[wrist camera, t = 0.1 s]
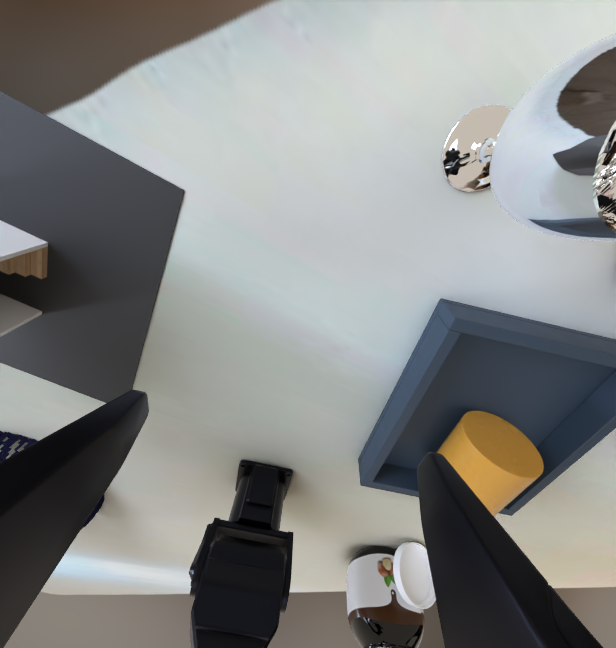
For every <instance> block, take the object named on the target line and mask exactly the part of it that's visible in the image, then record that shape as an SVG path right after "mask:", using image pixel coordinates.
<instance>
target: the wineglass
mask: <svg viewBox="0 0 616 648" xmlns="http://www.w3.org/2000/svg"><path fill="white" fill-rule="evenodd" d="M441 165H442V171H443V174H444V176H445V178H446V180H447V181H448V182H449V184H450V185H451V186H453V187H454V188H456V189H458V190H460V191H466V192H475V191H480V190H483V189H486V188H488V187H490V186H491V188H492V191H493V194H494V197H495V199H496V201H497V202H498V204H499V205H500V207H501V208H502V209H503V210H504V211H505V212H506V213H507V214H508V215H509V216H510V217H512V218H513V219H514V220H516V221H517V222H519V223H520V224H522V225H524V226H526V227H528V228H530V229H533V230H536V231H539V232H542V233H544V234H549V235H553V236H557V237H563V238H570V239H577V240H588V241H616V33H615V34H613V35H611V36H608V37H606V38H604V39H601V40H599V41H597V42H595V43H593V44H591V45H589V46H587V47H585V48H583V49H581V50H580V51H578V52H576V53H574V54H573V55H571V56H569V57H568V58H567V59H565V60H564V61H562V62H561V63H559V64H558V65H556V66H555V67H554V68H552V69H551V70H549V71H548V72H547V73H546V74H545V75H543V76H542V77H541V78H540V79H539V80H538V81H537V82H535V83H534V84H533V85H532V86H531V87H530V88H529V89H528V90H527V91H526V92H525V93H524V94H523V95H522V97H521V98H520V99H519V100H518V102H517V103H516V104H515V106H514V107H513V108H512V109H511V110H510V109H509V108H507V107H505V106H502V105H496V104H491V105H484V106H481V107H478V108H476V109H473V110H472V111H470V112H469V113H467V114H466V115H464V116H463V117H462V118H461V119H460V120H459V121H458V122H457V123H456V124H455V126H454V127H453V128H452V130H451V131H450V133H449V135H448V136H447V138H446V140H445V143H444V146H443V150H442V156H441Z"/></svg>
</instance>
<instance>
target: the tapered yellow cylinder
mask: <svg viewBox="0 0 616 648" xmlns="http://www.w3.org/2000/svg"><path fill="white" fill-rule="evenodd" d="M436 453H439V454H442V455H443V456H444V457H445V458H446V459H447V460H448V462H449V463H450V464H451V465H452V467H453V468H454V469H455V470H456V471H457V473H458V474H459V475H460V476H461V478H462V479H463V480H464V481H465V482H466V484H467V485H468V486H469V487H470V488H471V490H472V491H473V492H474V493H475V495H476V496H477V497H478V498H479V499H480V501H481V502H482V503H483V504H484V505H485V507H486V508H487V509H488V510H489V512H490V513H491V514H492V515H493V516H495V515H496V514H497V513H499V512H500V511H501V510H502V509H503V508H504V507H505V506H507V505H508V504H509V503H510V502H511V501H512V500H513V499H514V498H516V497H517V496H518V495H519V494H520V493H521V492H522V491H523V490H525V489H526V488H527V487H528V486H529V485H530V484H531V483H532V482H534V481H535V480H536V479H537V478H538V477H539V476H540V475H541V474H542V473H543V469H544V464H543V460H542V457H541V455H540V453H539V452H538V450H537V448H536V447H535V446H534V444H533V443H532V442H531V441H530V440H529V439H528V438H527V437H526V436H525V435H524V434H523V433H522V432H521V431H520V430H518V429H517V428H516V427H514V426H513V425H512V424H510V423H509V422H507V421H505V420H504V419H502V418H500V417H498V416H496V415H493V414H491V413H488V412H484V411H469V412H467V413H466V414H464V416H463V417H462V418H461V420H460V421H459V422H458V424H457V425H456V426H455V428H454V429H453V430H452V432H451V433H450V435H449V436H448V437H447V439H446V440H445V441H444V443H443V444H442V445H441V447H440V448H439V449H438V451H437V452H436Z"/></svg>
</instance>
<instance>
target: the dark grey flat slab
mask: <svg viewBox="0 0 616 648" xmlns="http://www.w3.org/2000/svg"><path fill="white" fill-rule="evenodd" d="M183 193H184V190H182V189H180V188H178V187H177V186H175V185H173V184H171V183H169V182H167V181H165V180H164V179H162V178H160V177H158V176H156V175H154V174H153V173H151V172H149V171H147V170H145V169H143V168H141V167H140V166H138V165H136V164H134V163H132V162H130V161H129V160H127V159H125V158H123V157H121V156H119V155H117V154H116V153H114V152H112V151H110V150H108V149H106V148H104V147H103V146H101V145H99V144H97V143H95V142H93V141H92V140H90V139H88V138H86V137H84V136H82V135H80V134H79V133H77V132H75V131H73V130H71V129H69V128H67V127H66V126H64V125H62V124H60V123H58V122H56V121H55V120H53V119H51V118H49V117H47V116H45V115H43V114H42V113H40V112H38V111H36V110H34V109H32V108H30V107H29V106H27V105H25V104H23V103H21V102H19V101H17V100H16V99H14V98H12V97H10V96H8V95H6V94H5V93H3V92H1V91H0V363H3V364H6V365H8V366H11V367H14V368H16V369H19V370H21V371H24V372H27V373H29V374H32V375H35V376H37V377H40V378H42V379H45V380H48V381H50V382H53V383H56V384H58V385H61V386H63V387H66V388H69V389H71V390H74V391H77V392H79V393H82V394H84V395H87V396H90V397H92V398H95V399H98V400H100V401H103V402H105V403H108V402H110V401H112V400H114V399H116V398H118V397H119V396H121V395H123V394H125V393H127V392H128V391H131V390H132V386H133V383H134V379H135V375H136V371H137V367H138V364H139V360H140V356H141V352H142V349H143V345H144V341H145V337H146V333H147V330H148V326H149V322H150V318H151V314H152V311H153V307H154V303H155V299H156V295H157V292H158V288H159V284H160V280H161V277H162V273H163V269H164V265H165V261H166V258H167V254H168V250H169V246H170V242H171V239H172V235H173V231H174V227H175V223H176V220H177V216H178V212H179V208H180V204H181V201H182V197H183Z"/></svg>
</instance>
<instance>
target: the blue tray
mask: <svg viewBox="0 0 616 648" xmlns="http://www.w3.org/2000/svg"><path fill="white" fill-rule="evenodd" d="M469 411H484V412H488V413H491V414H493V415H496V416H498V417H500V418H502V419H504V420H505V421H507V422H509V423H510V424H512V425H513V426H514V427H516V428H517V429H518V430H520V431H521V432H522V433H523V434H524V435H525V436H526V437H527V438H528V439H529V440H530V441H531V442H532V443H533V444H534V446H535V447H536V448H537V450H538V452H539V453H540V455H541V457H542V460H543V464H544V469H543V473H542V474H541V475H540V476H539V477H538V478H537V479H536V480H535V481H534V482H532V483H531V484H530V485H529V486H528V487H527V488H526V489H525V490H523V491H522V492H521V493H520V494H519V495H518V496H517V497H516V498H514V499H513V500H512V501H511V502H510V503H509V504H508V505H507V506H505V507H504V508H503V509H502V510H501V511H500V512H499V513H501V514H506V515H511V516H512V515H513V514H514V513H515V512H516V511H518V510H519V509H520V508H521V507H523V506H524V505H525V504H526V503H527V502H529V501H530V500H531V499H532V498H533V497H534V496H536V495H537V494H538V493H539V492H540V491H542V490H543V489H544V488H545V487H546V486H547V485H549V484H550V483H551V482H552V481H553V480H555V479H556V478H557V477H558V476H559V475H560V474H562V473H563V472H564V471H565V470H566V469H568V468H569V467H570V466H571V465H572V464H573V463H575V462H576V461H577V460H578V459H579V458H581V457H582V456H583V455H584V454H585V453H587V452H588V451H589V450H590V449H591V448H592V447H594V446H595V445H596V444H597V443H598V442H600V441H601V440H602V439H603V438H604V437H605V436H607V435H608V434H609V433H610V432H611V431H613V430H614V429H615V428H616V340H614V339H610V338H606V337H602V336H597V335H593V334H589V333H585V332H580V331H576V330H572V329H568V328H564V327H559V326H555V325H551V324H547V323H542V322H538V321H534V320H530V319H525V318H521V317H517V316H513V315H508V314H504V313H500V312H496V311H491V310H487V309H483V308H479V307H474V306H470V305H466V304H462V303H458V302H453V301H449V300H445V299H440V301H439V303H438V305H437V307H436V309H435V311H434V312H433V314H432V316H431V318H430V320H429V322H428V324H427V326H426V328H425V330H424V332H423V334H422V336H421V338H420V340H419V342H418V344H417V346H416V348H415V349H414V351H413V353H412V355H411V357H410V359H409V361H408V363H407V365H406V367H405V369H404V371H403V373H402V375H401V377H400V379H399V381H398V383H397V385H396V386H395V388H394V390H393V392H392V394H391V396H390V398H389V400H388V402H387V404H386V406H385V408H384V410H383V412H382V414H381V416H380V418H379V420H378V422H377V424H376V425H375V427H374V429H373V431H372V433H371V435H370V437H369V439H368V441H367V443H366V445H365V447H364V449H363V451H362V453H361V455H360V457H359V459H358V462H359V472H360V484H361V486H366V487H371V488H376V489H381V490H386V491H391V492H396V493H401V494H406V495H411V496H416V497H419V490H418V479H417V468H418V466H419V464H420V463H421V461H422V460H423V458H424V457H425V456H426V454H427V453H428V452H434V453H436V452H437V451H438V449H439V448H440V447H441V445H442V444H443V443H444V441H445V440H446V439H447V437H448V436H449V435H450V433H451V432H452V430H453V429H454V428H455V426H456V425H457V424H458V422H459V421H460V420H461V418H462V417H463V416H464V414H466V413H467V412H469Z"/></svg>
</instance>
